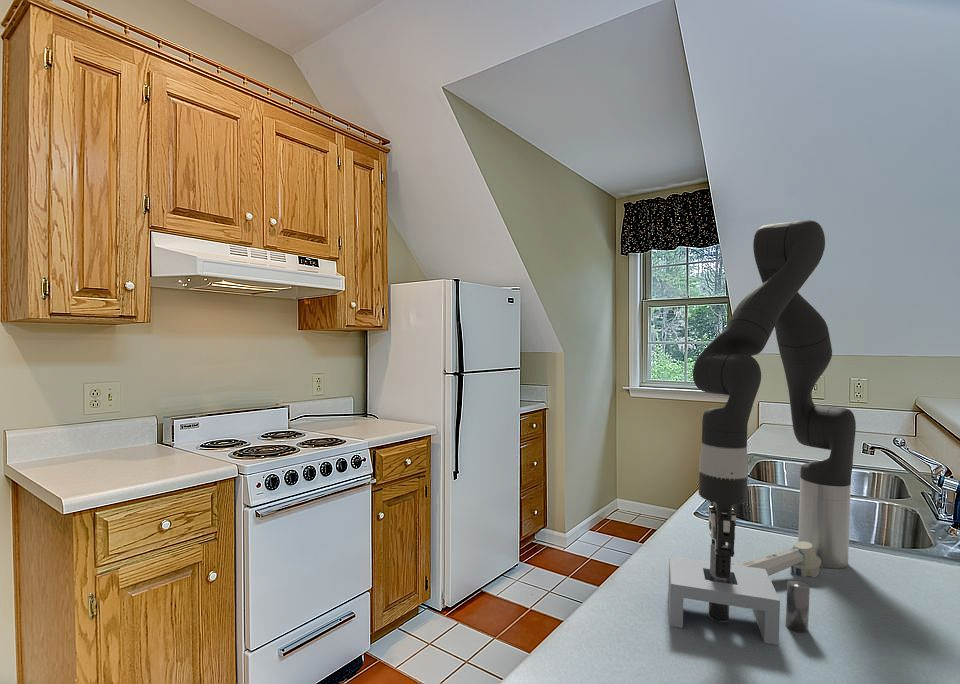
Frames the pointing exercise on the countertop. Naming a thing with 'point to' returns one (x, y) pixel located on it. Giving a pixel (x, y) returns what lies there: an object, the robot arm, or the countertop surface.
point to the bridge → (724, 592)
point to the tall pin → (715, 609)
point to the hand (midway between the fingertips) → (720, 568)
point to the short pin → (797, 606)
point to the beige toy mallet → (789, 561)
